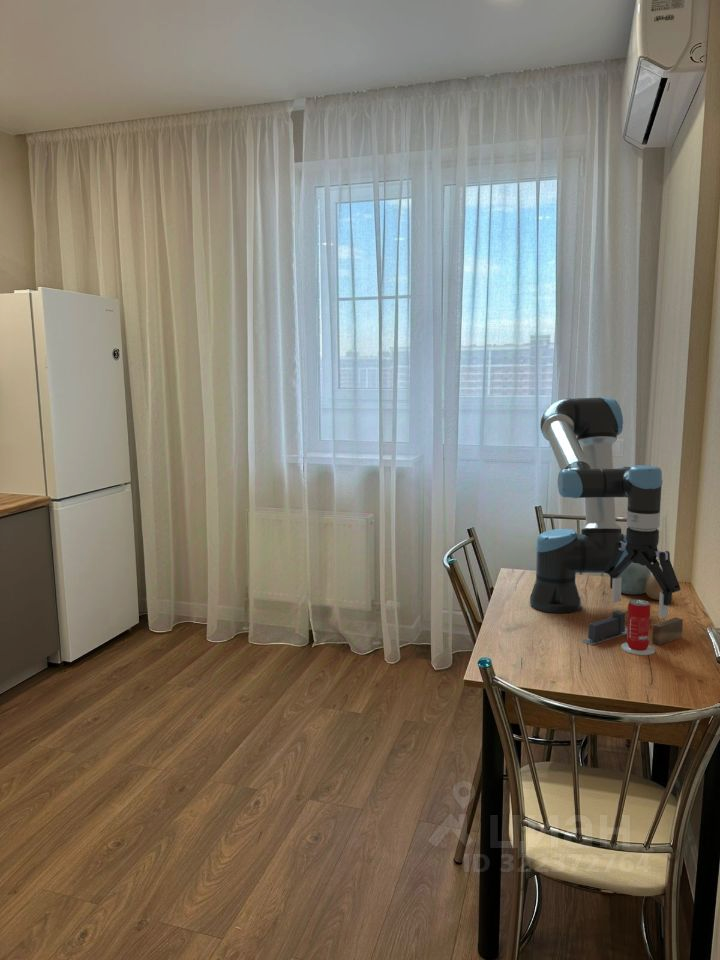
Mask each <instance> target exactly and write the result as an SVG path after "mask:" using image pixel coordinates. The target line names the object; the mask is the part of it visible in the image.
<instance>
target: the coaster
mask: <svg viewBox="0 0 720 960" xmlns="http://www.w3.org/2000/svg"><path fill="white" fill-rule="evenodd" d="M621 649H622V651H624V652H626V653H629V654H632V655H636V656H651V655H654V654H655V653H656V648H655V647H654V646H653V645H651V644H649V646H648V647H647V650H644V651H637V650H633V649H630V648H629V647H628V644H627V641H626V642H624V643H622V644H621Z"/></svg>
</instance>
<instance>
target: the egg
mask: <svg viewBox="0 0 720 960" xmlns="http://www.w3.org/2000/svg"><path fill="white" fill-rule="evenodd" d="M645 591H646V592H645V593H646V594H647V596H648V597H649V598H650V599H652V600H654V601H658V600H659V598H660V592H662V591H663V590H662V589H661V587H660V585H659V584H658V582H657V581H656V579H655V577H654V576H653V574H651V576H650V577H649V578H648V579H647V581H646V584H645Z"/></svg>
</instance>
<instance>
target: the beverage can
mask: <svg viewBox="0 0 720 960" xmlns="http://www.w3.org/2000/svg"><path fill="white" fill-rule="evenodd" d="M628 602H629V603H628V605H627V625H626V626H627V634H626V635H627V636H626V642H627V644H628V647H629V648H630V649H633V650H637V651H644V650H647V647H648V646H649V645H650V627H651V626H650V625H651V622H650V621H651V605H650V602H649V601H647V600H644V599H631V600H629V601H628Z"/></svg>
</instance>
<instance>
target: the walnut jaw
mask: <svg viewBox="0 0 720 960" xmlns="http://www.w3.org/2000/svg"><path fill="white" fill-rule="evenodd" d="M683 625H684V619H683V618H680V617H673V618H669V619H666V620H664V621H661V622H656V623H654V624H652V634H651V635H652V637H651V638H652V643H651V644H653V645H657V646H663V645H664V644H667V643H670V642H672V641H676V640H678V639H682V638H683V628H684V627H683Z"/></svg>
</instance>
